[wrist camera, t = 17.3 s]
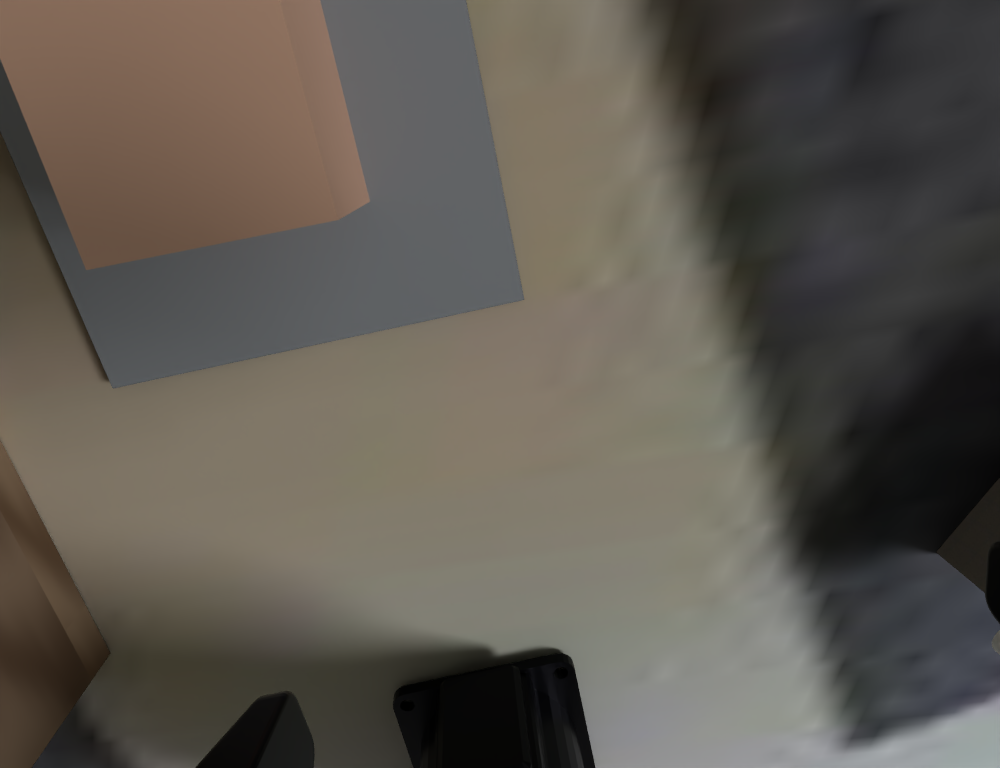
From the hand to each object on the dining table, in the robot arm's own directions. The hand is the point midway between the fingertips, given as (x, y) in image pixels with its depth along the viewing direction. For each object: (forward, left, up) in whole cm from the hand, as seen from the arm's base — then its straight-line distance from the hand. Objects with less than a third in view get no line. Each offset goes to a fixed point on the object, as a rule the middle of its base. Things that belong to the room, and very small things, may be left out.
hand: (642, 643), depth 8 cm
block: (+8, +6, -12) cm, 15 cm away
